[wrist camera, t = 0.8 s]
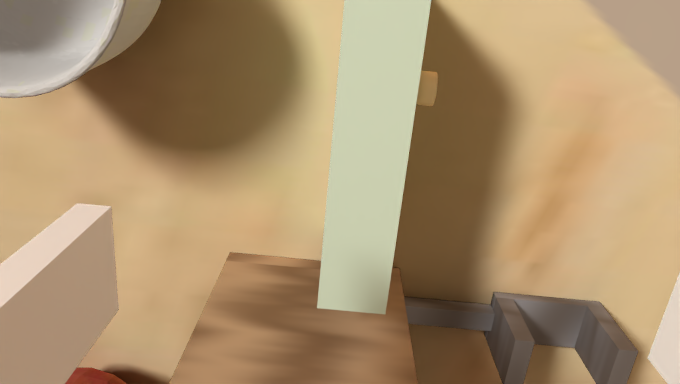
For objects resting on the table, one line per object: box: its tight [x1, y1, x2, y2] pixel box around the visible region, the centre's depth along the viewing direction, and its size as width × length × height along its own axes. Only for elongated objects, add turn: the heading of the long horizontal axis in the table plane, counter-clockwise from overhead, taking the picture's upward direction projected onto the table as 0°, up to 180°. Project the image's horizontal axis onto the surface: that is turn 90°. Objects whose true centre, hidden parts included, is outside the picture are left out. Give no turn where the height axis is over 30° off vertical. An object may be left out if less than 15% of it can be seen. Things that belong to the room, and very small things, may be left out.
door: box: [317, 0, 438, 314], centre depth 24 cm, size 4×14×8 cm, turn 175°
